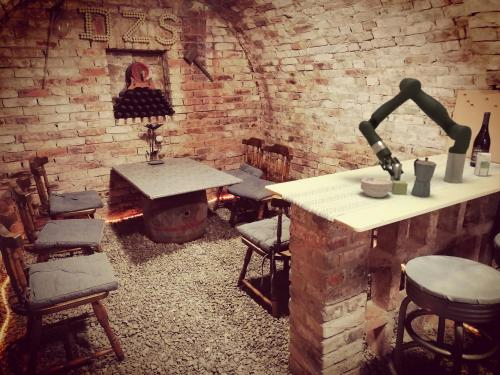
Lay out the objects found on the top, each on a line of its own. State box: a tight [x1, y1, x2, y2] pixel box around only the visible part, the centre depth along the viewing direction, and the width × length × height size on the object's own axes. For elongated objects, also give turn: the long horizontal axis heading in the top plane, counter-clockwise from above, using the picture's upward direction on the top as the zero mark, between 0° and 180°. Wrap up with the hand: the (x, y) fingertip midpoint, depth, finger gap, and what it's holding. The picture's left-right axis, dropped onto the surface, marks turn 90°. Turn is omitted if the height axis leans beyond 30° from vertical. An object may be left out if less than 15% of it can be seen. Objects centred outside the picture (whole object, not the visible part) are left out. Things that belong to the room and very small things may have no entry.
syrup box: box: [473, 152, 492, 177], centre depth 225 cm, size 6×6×14 cm
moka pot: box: [411, 157, 437, 198], centre depth 181 cm, size 10×15×20 cm, turn 16°
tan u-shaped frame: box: [390, 180, 409, 196], centre depth 191 cm, size 16×10×6 cm, turn 171°
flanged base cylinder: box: [389, 162, 403, 181], centre depth 192 cm, size 6×6×14 cm
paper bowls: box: [360, 177, 393, 198], centre depth 182 cm, size 15×15×8 cm
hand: (397, 174), depth 191 cm, fingers open, 8 cm apart
